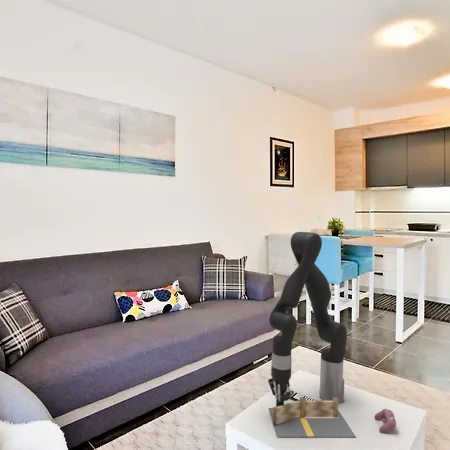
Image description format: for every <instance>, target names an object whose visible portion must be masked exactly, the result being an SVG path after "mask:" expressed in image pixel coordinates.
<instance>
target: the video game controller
mask: <svg viewBox="0 0 450 450" xmlns="http://www.w3.org/2000/svg"><path fill="white" fill-rule="evenodd" d="M374 419H375V421H381V420H382V423H383V425H381V426H380V427H379V428H378V431H379V432H380V433H381V432H383V433H384V434H385V433H388V432H390V431H391V430H393V429H395V427H396V426H397V421H396V418H395V414H394V412H393V410H391V409H389V408H383V409H382V410H380V411H378V412H377V413H376V414H375V415H374Z"/></svg>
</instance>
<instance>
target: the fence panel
mask: <svg viewBox="0 0 450 450" xmlns="http://www.w3.org/2000/svg"><path fill="white" fill-rule="evenodd" d="M272 408H273V422H272V425H273V426H274V425H276V424H279V423H282V422H286V421H289V420H292V419H295V418H298V417H300V400H295V401H292V402H288V403H284V405H281V406H278V407H276V406H273V407H272Z"/></svg>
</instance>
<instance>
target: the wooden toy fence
mask: <svg viewBox="0 0 450 450" xmlns="http://www.w3.org/2000/svg"><path fill="white" fill-rule="evenodd" d="M299 401H300V418H304V417H334V418H337V417H338V410H339V403H338V398H337V397H334V398H333V401H322V400H306V397H305V396H301V397H299Z"/></svg>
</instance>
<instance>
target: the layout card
mask: <svg viewBox="0 0 450 450" xmlns="http://www.w3.org/2000/svg"><path fill="white" fill-rule="evenodd" d="M273 408H274V407H268V412H269V415H270V419H271V422H272V423H273ZM273 428H274V431H275V434H276V438H277V439H286V438H287V439H291V438H293V439H297V438H298V439H314V438H315V439H318V438H319V439H321V438H323V439H324V438H325V439H327V438H328V439H331V438H332V439H333V438H334V439H335V438H336V439H341V438H344V439H350V438H351V439H355V438H357V437H356V435H355V433H354V431H353V430H352V428H351V427H350V425H349V424H348V422H347V420H346V419H345V418H344V416H343V415H342V413H341V411H340V410H339V409H338V417H337V418H334V417H304V418H300V417H298V418H295V419H292V420H289V421H286V422H282V423H279V424H276V425H273Z"/></svg>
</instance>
